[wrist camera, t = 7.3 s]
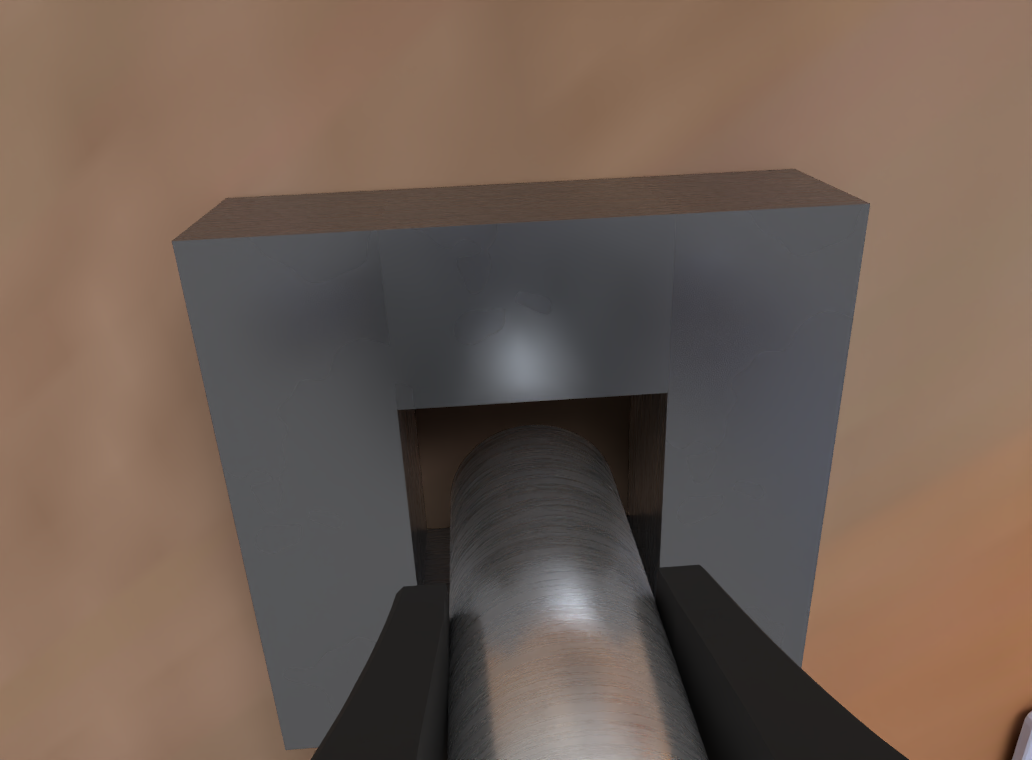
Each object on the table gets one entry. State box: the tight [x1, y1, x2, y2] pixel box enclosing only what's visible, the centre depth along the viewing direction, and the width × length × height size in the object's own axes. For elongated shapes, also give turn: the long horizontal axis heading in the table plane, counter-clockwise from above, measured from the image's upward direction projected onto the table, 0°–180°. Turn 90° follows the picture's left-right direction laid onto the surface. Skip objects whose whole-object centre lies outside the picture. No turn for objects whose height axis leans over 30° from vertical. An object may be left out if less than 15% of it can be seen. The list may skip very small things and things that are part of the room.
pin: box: [447, 425, 708, 760], centre depth 10 cm, size 3×3×10 cm
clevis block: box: [172, 169, 870, 750], centre depth 16 cm, size 10×10×3 cm
